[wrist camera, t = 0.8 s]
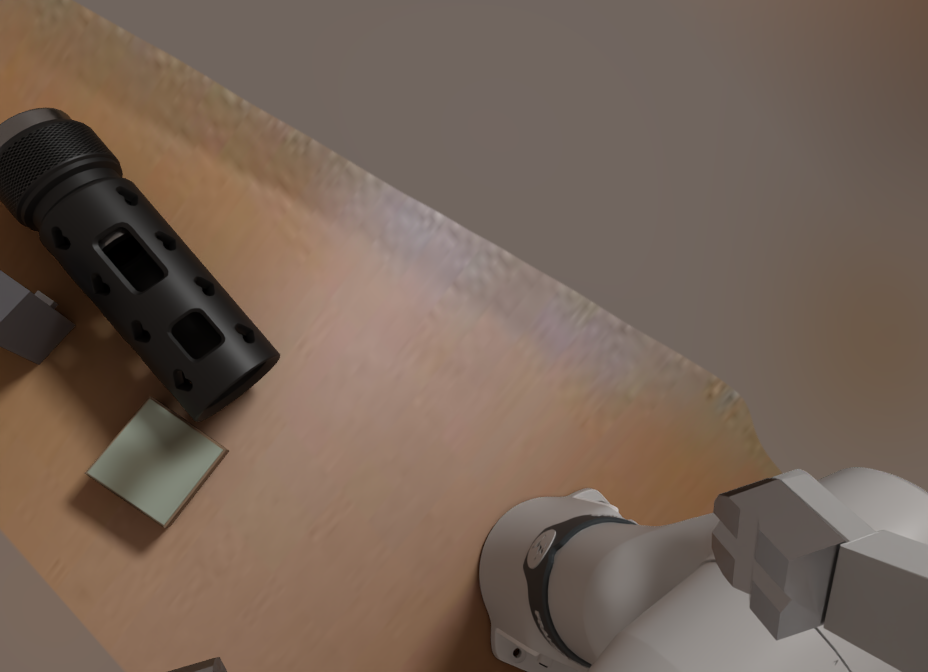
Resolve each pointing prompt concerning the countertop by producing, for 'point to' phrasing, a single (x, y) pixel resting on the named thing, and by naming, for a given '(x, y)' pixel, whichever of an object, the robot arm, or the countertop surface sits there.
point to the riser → (157, 462)
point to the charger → (29, 321)
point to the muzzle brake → (129, 261)
